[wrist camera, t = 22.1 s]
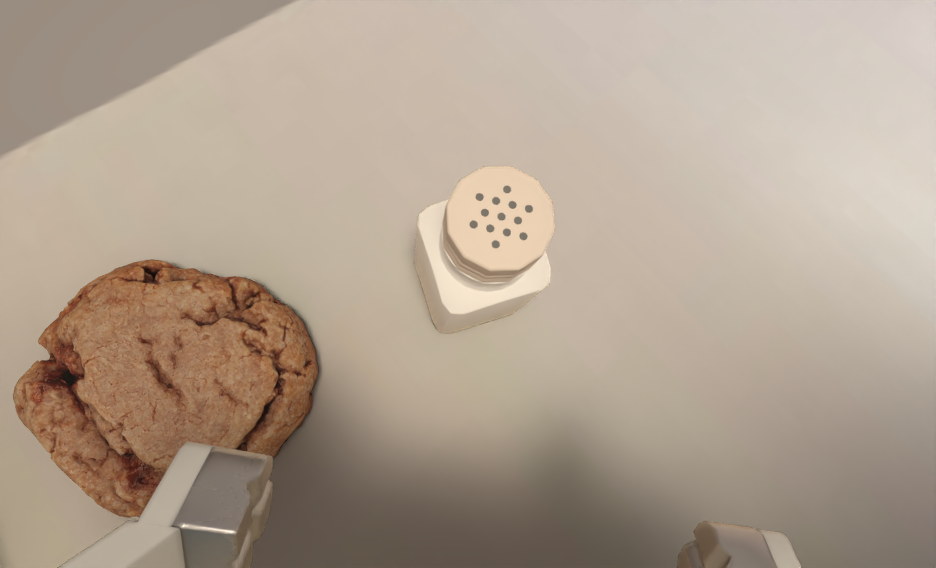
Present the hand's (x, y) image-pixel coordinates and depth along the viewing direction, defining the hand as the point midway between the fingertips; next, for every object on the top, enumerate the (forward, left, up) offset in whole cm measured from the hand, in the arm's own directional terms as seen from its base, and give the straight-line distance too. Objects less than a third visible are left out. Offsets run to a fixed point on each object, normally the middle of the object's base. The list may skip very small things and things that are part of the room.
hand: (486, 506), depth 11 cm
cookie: (+9, -6, -14) cm, 18 cm away
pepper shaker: (-4, -6, -14) cm, 16 cm away
